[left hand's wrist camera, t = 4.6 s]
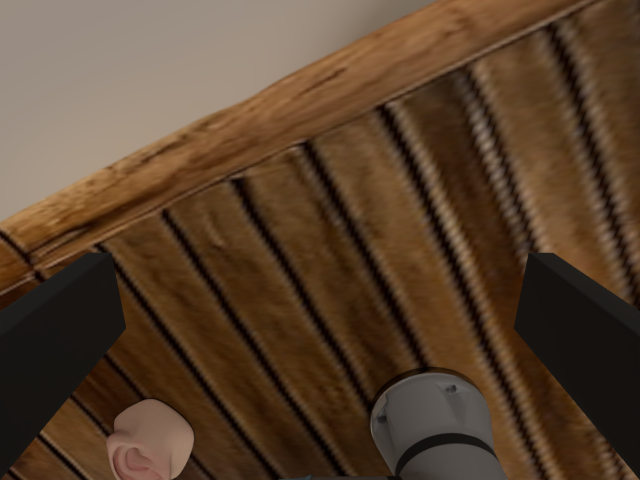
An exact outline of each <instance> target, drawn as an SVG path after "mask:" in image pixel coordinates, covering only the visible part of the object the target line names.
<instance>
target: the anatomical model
mask: <svg viewBox="0 0 640 480" xmlns="http://www.w3.org/2000/svg"><path fill="white" fill-rule="evenodd" d="M114 429H115V433H113V434H111V435H110V436H109V437H108V439H107V441H106V446H107V451H108V456H109V462H110V466H111V469H112V472H113V474H114V476H115V477H116V479H117V480H171V479H173V478H175V477H177V476H178V475H179V474H180V472H181V471H182V470H183V468H184V466H185V464H186V462H187V460H188V458H189V456H190V453H191V450H192V447H193V443H194V433H193V430H192V428H191V426H190V425H189V424H188V422H187V421H186V420H185V419H184V418H183V417H182V416H181V415H180V414H178V413H177V412H176V411H175V410H173V409H172V408H170V407H169V406H167V405H166V404H164V403H162V402H161V401H158V400H155V399H146V400H143V401H141V402H138V403H136V404H134V405H133V406H131V407H129V408H127V409H126V410H124V411H123V412H122V413H120V414H119V415H118V416H117V417H116V419H115V422H114Z"/></svg>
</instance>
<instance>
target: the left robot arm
mask: <svg viewBox="0 0 640 480" xmlns="http://www.w3.org/2000/svg"><path fill="white" fill-rule="evenodd" d="M125 329H126V325H125V320H124V315H123V310H122V305H121V300H120V295H119V290H118V285H117V279H116V274H115V269H114V264H113V259H112V254H111V253H86V254H84V255H83V256H82V257H80V258H79V259H77V260H76V261H74V262H73V263H71V264H70V265H68V266H67V267H65V268H64V269H62V270H61V271H59V272H58V273H56V274H55V275H53V276H52V277H50V278H49V279H47V280H46V281H45V282H43V283H42V284H40V285H39V286H37V287H36V288H34V289H33V290H31V291H30V292H28V293H27V294H25V295H24V296H22V297H21V298H19V299H18V300H16V301H15V302H13V303H12V304H10V305H9V306H7V307H6V308H5V309H3V310H2V311H0V479H1V478H2V477H3V476H4V475H5V473H6V472H7V471H8V470H9V469H10V467H11V466H12V465H13V464H14V463H15V461H16V460H17V459H18V458H19V457H20V455H21V454H22V453H23V452H24V451H25V449H26V448H27V447H28V446H29V445H30V443H31V442H32V441H33V440H34V439H35V437H36V436H37V435H38V434H39V433H40V431H41V430H42V429H43V428H44V427H45V425H46V424H47V423H48V422H49V421H50V419H51V418H52V417H53V416H54V415H55V413H56V412H57V411H58V410H59V408H60V407H61V406H62V405H63V404H64V402H65V401H66V400H67V399H68V398H69V396H70V395H71V394H72V393H73V392H74V390H75V389H76V388H77V387H78V386H79V384H80V383H81V382H82V381H83V380H84V378H85V377H86V376H87V375H88V374H89V372H90V371H91V370H92V369H93V368H94V366H95V365H96V364H97V363H98V362H99V360H100V359H101V358H102V357H103V356H104V354H105V353H106V352H107V351H108V350H109V348H110V347H111V346H112V345H113V344H114V342H115V341H116V340H117V339H118V338H119V336H120V335H121V334H122V333H123V332H124V330H125ZM514 329H515V330H516V332H517V333H518V334H519V335H520V336H521V338H522V339H523V340H524V341H525V342H526V344H527V345H528V346H529V347H530V348H531V350H532V351H533V352H534V353H535V354H536V356H537V357H538V358H539V359H540V360H541V362H542V363H543V364H544V365H545V366H546V368H547V369H548V370H549V371H550V372H551V374H552V375H553V376H554V377H555V378H556V380H557V381H558V382H559V383H560V384H561V386H562V387H563V388H564V389H565V390H566V392H567V393H568V394H569V395H570V396H571V398H572V399H573V400H574V401H575V402H576V404H577V405H578V406H579V407H580V408H581V410H582V411H583V412H584V413H585V415H586V416H587V417H588V418H589V419H590V421H591V422H592V423H593V424H594V425H595V427H596V428H597V429H598V430H599V431H600V433H601V434H602V435H603V436H604V437H605V439H606V440H607V441H608V442H609V443H610V445H611V446H612V447H613V448H614V449H615V451H616V452H617V453H618V454H619V455H620V457H621V458H622V459H623V460H624V461H625V463H626V464H627V465H628V466H629V467H630V469H631V470H632V471H633V472H634V473H635V475H636V476H637V477H638V478H639V479H640V311H638V310H637V309H635V308H634V307H633V306H631V305H630V304H628V303H627V302H625V301H624V300H622V299H621V298H619V297H618V296H616V295H615V294H613V293H612V292H610V291H609V290H607V289H606V288H604V287H603V286H601V285H600V284H598V283H597V282H595V281H594V280H593V279H591V278H590V277H588V276H587V275H585V274H584V273H582V272H581V271H579V270H578V269H576V268H575V267H573V266H572V265H570V264H569V263H567V262H566V261H564V260H563V259H561V258H560V257H558V256H557V255H556V254H554V253H529V254H528V259H527V264H526V269H525V274H524V279H523V285H522V290H521V295H520V300H519V305H518V310H517V315H516V320H515V325H514ZM370 426H371V432H372V436H373V438H374V441H375V444H376V446H377V448H378V450H379V451H380V453H381V455H382V456H383V458H384V460H385V462H386V463H387V465H388V467H389V468H390V470H391V472H392V474H393V475H394V476H349V477H314V475H307V476H306V477H302V478H290V479H280V480H508V478H507V476H506V474H505V472H504V470H503V468H502V466H501V464H500V463H499V461H498V458H497V456H496V454H495V452H494V445H493V435H492V426H491V417H490V412H489V409H488V405H487V403H486V401H485V399H484V397H483V395H482V393H481V391H480V390H479V388H478V387H477V386H476V384H475V383H474V382H473V381H471V380H470V379H469V378H467V377H466V376H464V375H462V374H460V373H458V372H455V371H452V370H449V369H443V368H422V369H417V370H412V371H409V372H406V373H404V374H402V375H400V376H398V377H396V378H394V379H393V380H391V381H390V382H389V383H387V384H386V385H385V386H384V387H383V388H382V389H381V390H380V391H379V393H378V394H377V395H376V397H375V399H374V401H373V403H372V406H371V409H370Z"/></svg>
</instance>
